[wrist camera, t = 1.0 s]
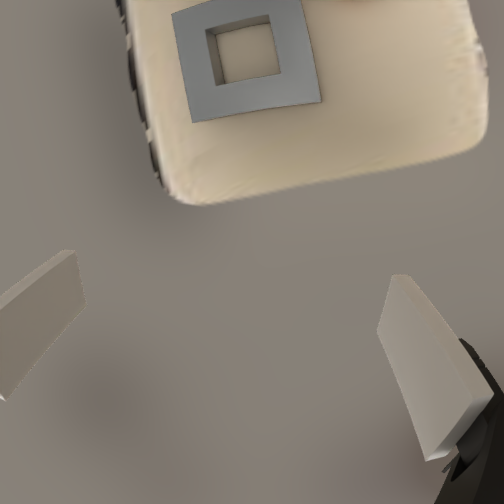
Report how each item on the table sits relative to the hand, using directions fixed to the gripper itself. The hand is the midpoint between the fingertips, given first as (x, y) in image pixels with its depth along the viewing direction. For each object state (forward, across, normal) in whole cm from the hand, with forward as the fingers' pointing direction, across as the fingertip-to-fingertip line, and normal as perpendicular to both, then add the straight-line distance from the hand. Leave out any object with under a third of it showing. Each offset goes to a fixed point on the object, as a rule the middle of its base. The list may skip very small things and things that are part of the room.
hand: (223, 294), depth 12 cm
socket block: (+22, -1, +15) cm, 27 cm away
